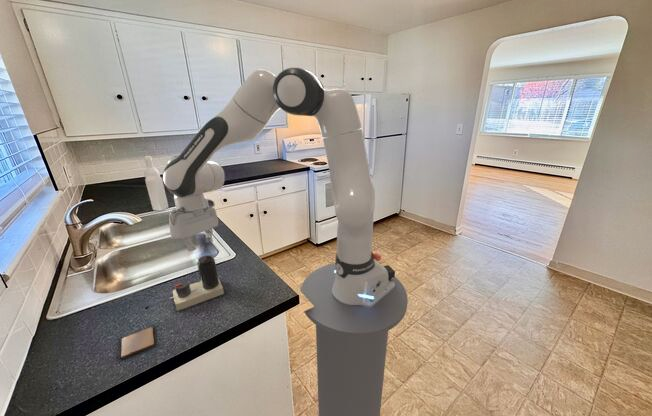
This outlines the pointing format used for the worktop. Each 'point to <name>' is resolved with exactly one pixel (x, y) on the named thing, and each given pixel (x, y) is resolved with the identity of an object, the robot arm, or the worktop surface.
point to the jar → (208, 272)
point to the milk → (156, 192)
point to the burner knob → (183, 289)
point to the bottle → (150, 166)
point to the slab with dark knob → (196, 295)
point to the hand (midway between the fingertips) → (201, 246)
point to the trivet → (137, 342)
